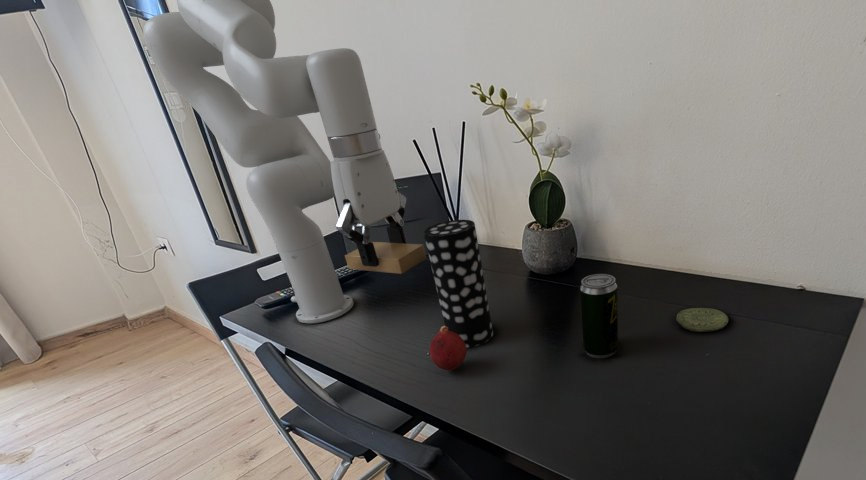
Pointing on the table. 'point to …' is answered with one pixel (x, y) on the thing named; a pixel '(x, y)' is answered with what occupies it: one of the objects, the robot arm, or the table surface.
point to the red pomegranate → (447, 349)
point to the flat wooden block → (390, 257)
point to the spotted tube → (460, 280)
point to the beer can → (599, 315)
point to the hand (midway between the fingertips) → (385, 256)
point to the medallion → (702, 319)
